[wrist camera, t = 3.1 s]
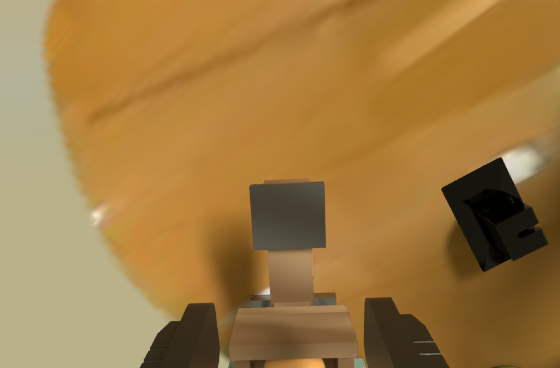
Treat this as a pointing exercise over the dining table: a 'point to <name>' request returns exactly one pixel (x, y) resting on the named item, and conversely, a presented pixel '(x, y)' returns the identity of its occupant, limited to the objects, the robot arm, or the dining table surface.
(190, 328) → the robot arm
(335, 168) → the dining table surface
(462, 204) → the black box
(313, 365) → the ball
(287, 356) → the lever
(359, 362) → the tray
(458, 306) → the dining table surface
